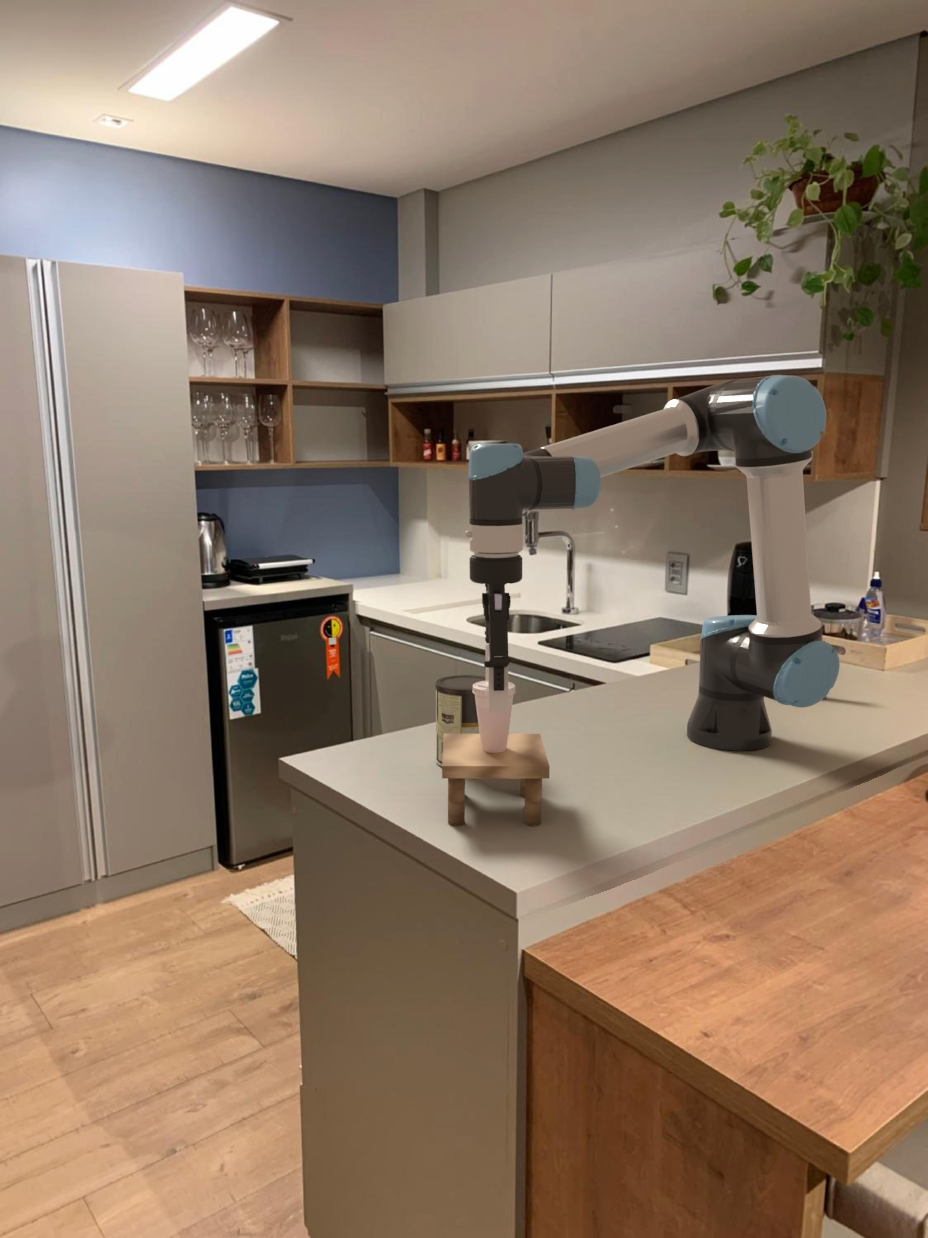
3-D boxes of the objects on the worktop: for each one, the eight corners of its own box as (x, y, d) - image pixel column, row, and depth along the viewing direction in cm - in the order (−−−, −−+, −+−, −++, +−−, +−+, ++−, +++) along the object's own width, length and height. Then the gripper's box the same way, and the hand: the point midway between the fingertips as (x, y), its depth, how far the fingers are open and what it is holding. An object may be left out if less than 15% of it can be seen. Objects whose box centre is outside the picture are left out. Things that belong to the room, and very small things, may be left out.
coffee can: (499, 754, 164) (500, 676, 162) (489, 773, 154) (490, 691, 152) (442, 750, 166) (442, 673, 164) (428, 769, 156) (428, 687, 154)
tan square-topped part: (538, 790, 147) (540, 733, 146) (548, 828, 132) (549, 766, 131) (443, 789, 147) (443, 733, 145) (442, 828, 132) (442, 766, 131)
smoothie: (470, 742, 141) (470, 652, 138) (512, 741, 142) (513, 651, 139) (474, 756, 135) (474, 661, 132) (518, 755, 135) (519, 660, 133)
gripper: (468, 544, 145) (469, 677, 149) (470, 565, 121) (472, 724, 125) (516, 543, 145) (516, 676, 149) (529, 565, 121) (528, 723, 125)
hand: (496, 698), depth 137 cm, fingers open, 13 cm apart
